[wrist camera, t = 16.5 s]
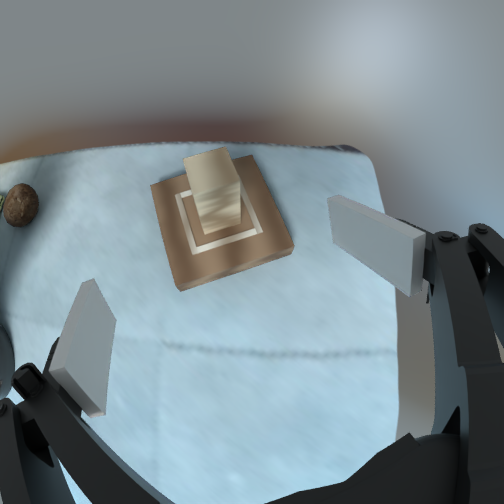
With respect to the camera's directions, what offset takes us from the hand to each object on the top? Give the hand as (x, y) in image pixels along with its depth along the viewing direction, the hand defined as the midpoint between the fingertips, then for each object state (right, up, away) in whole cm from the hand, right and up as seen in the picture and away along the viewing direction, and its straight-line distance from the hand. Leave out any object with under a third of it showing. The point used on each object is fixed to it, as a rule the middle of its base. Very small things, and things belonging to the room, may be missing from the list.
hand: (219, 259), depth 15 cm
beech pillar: (-3, +6, +25) cm, 26 cm away
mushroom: (-40, +8, +28) cm, 50 cm away
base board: (-3, +5, +28) cm, 28 cm away
